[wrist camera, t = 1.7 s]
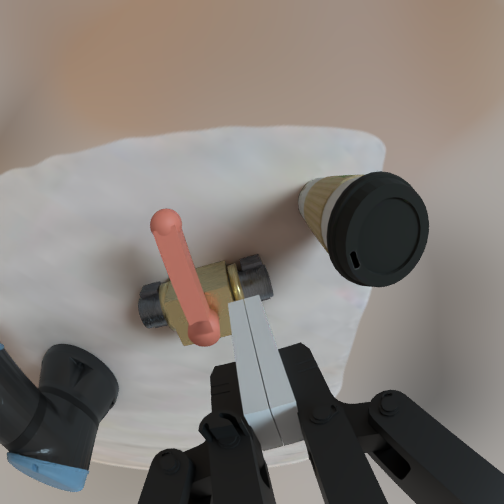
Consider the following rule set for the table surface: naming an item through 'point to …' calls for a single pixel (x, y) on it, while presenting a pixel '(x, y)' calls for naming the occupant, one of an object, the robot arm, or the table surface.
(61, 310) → the table surface
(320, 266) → the table surface
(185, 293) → the lever
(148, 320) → the pipe run
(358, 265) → the coffee cup
